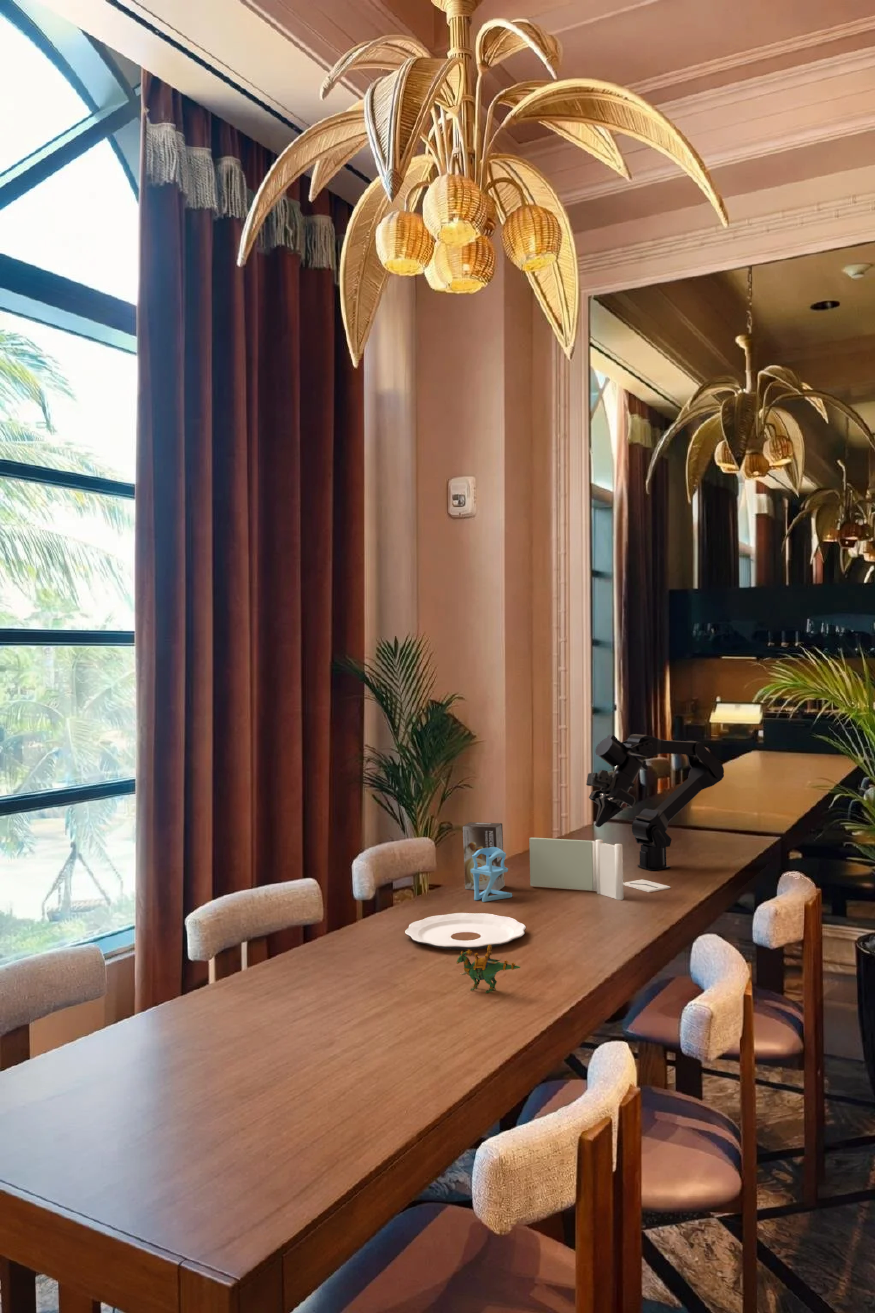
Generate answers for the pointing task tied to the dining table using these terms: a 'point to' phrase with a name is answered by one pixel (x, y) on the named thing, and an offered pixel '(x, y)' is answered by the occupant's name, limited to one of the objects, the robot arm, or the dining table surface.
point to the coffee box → (475, 840)
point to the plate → (465, 930)
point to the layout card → (646, 885)
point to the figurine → (483, 968)
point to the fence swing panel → (563, 863)
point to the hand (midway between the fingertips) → (597, 826)
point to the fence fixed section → (609, 869)
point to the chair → (489, 874)
